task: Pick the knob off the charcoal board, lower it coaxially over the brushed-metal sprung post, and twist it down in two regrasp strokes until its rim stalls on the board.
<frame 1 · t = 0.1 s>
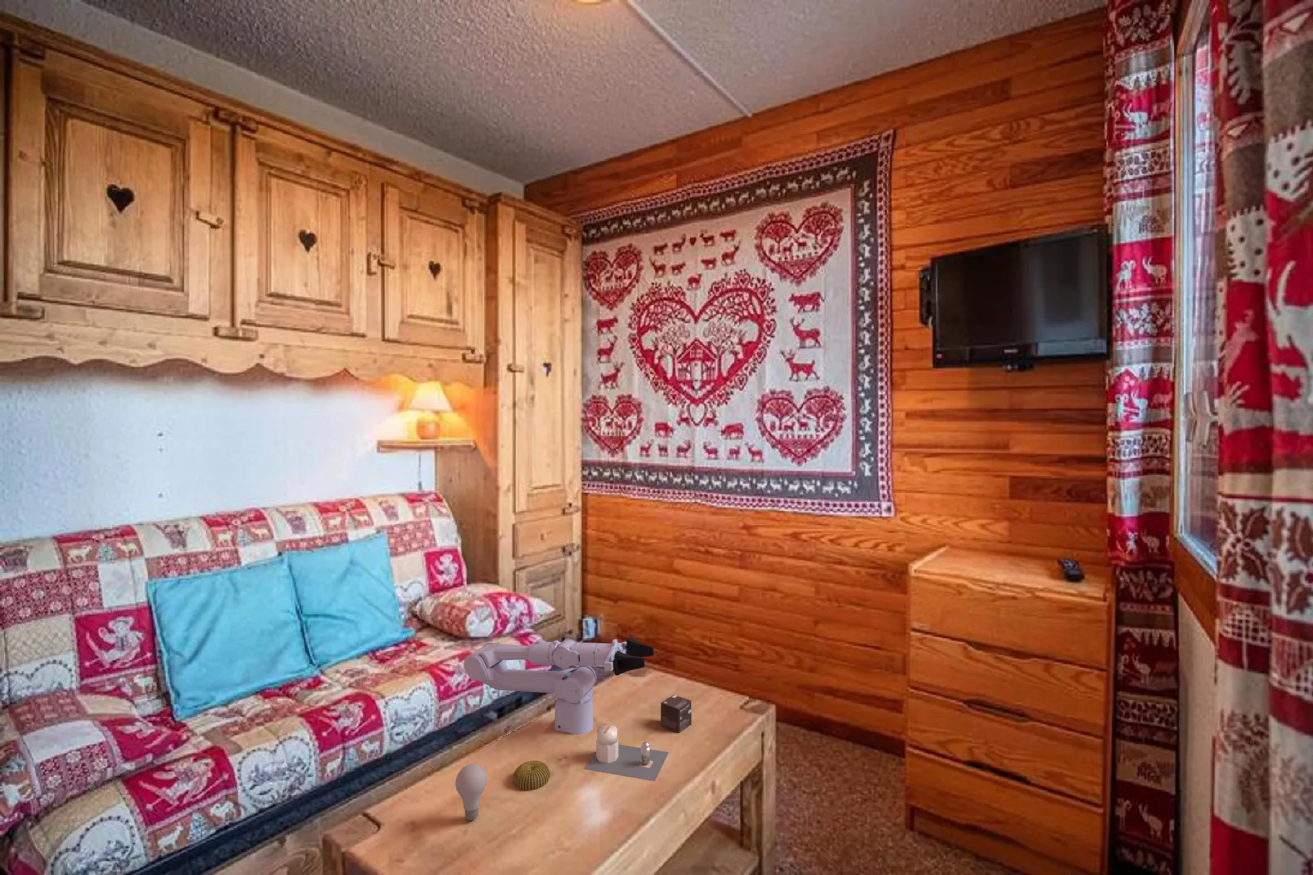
hand: (649, 656, 149), 22 cm above the table, tool horizontal, fingers open, 7 cm apart
board: (627, 764, 140), on the table
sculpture: (531, 785, 133), on the table
knob: (607, 757, 141), point 1 cm above the table, touching board
lightbulb: (471, 820, 121), on the table
post: (645, 751, 139), point 4 cm above the table, slide at 0.0 cm
box: (676, 729, 156), on the table
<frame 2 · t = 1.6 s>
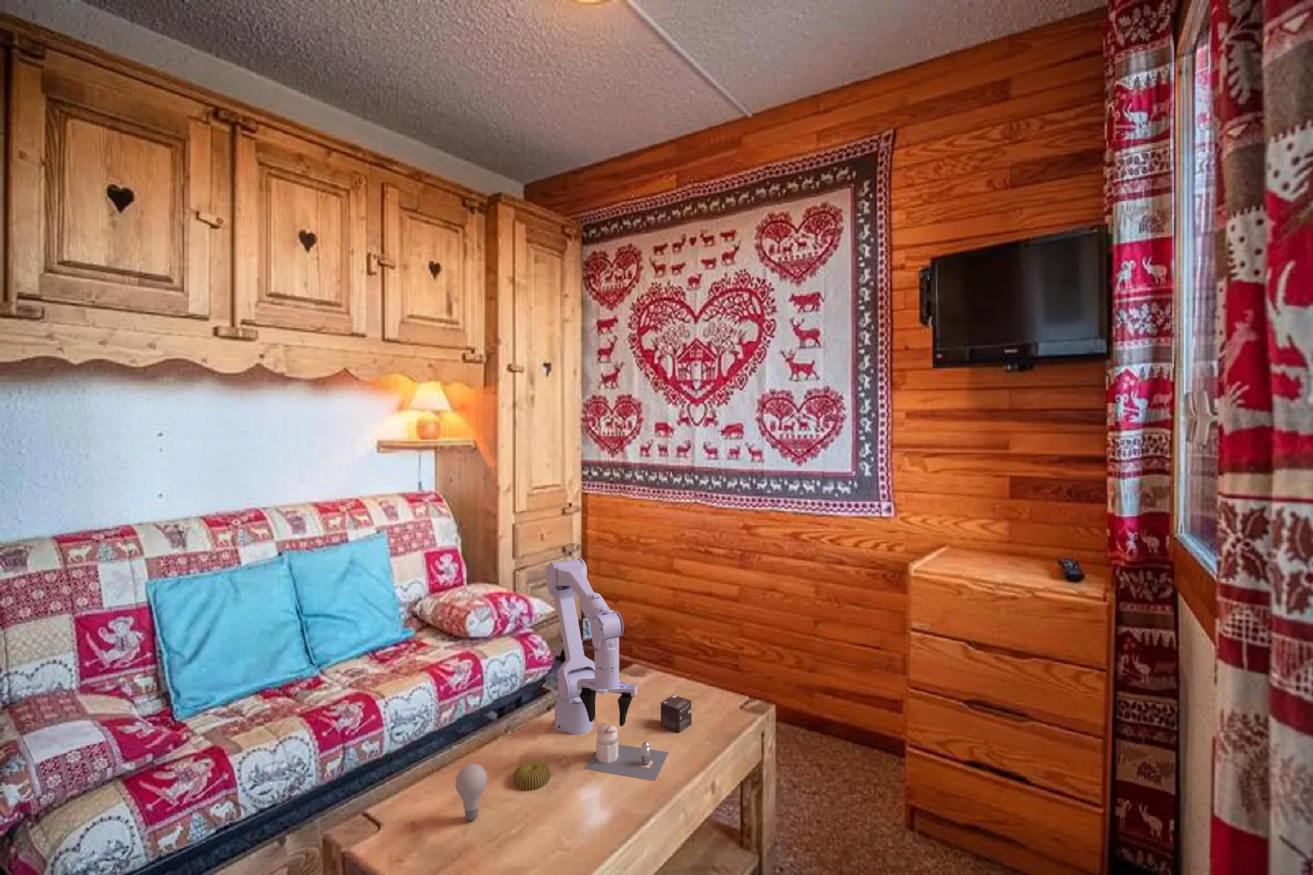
hand: (607, 722, 141), 9 cm above the table, tool pointing down, fingers open, 7 cm apart
nothing on the table moved.
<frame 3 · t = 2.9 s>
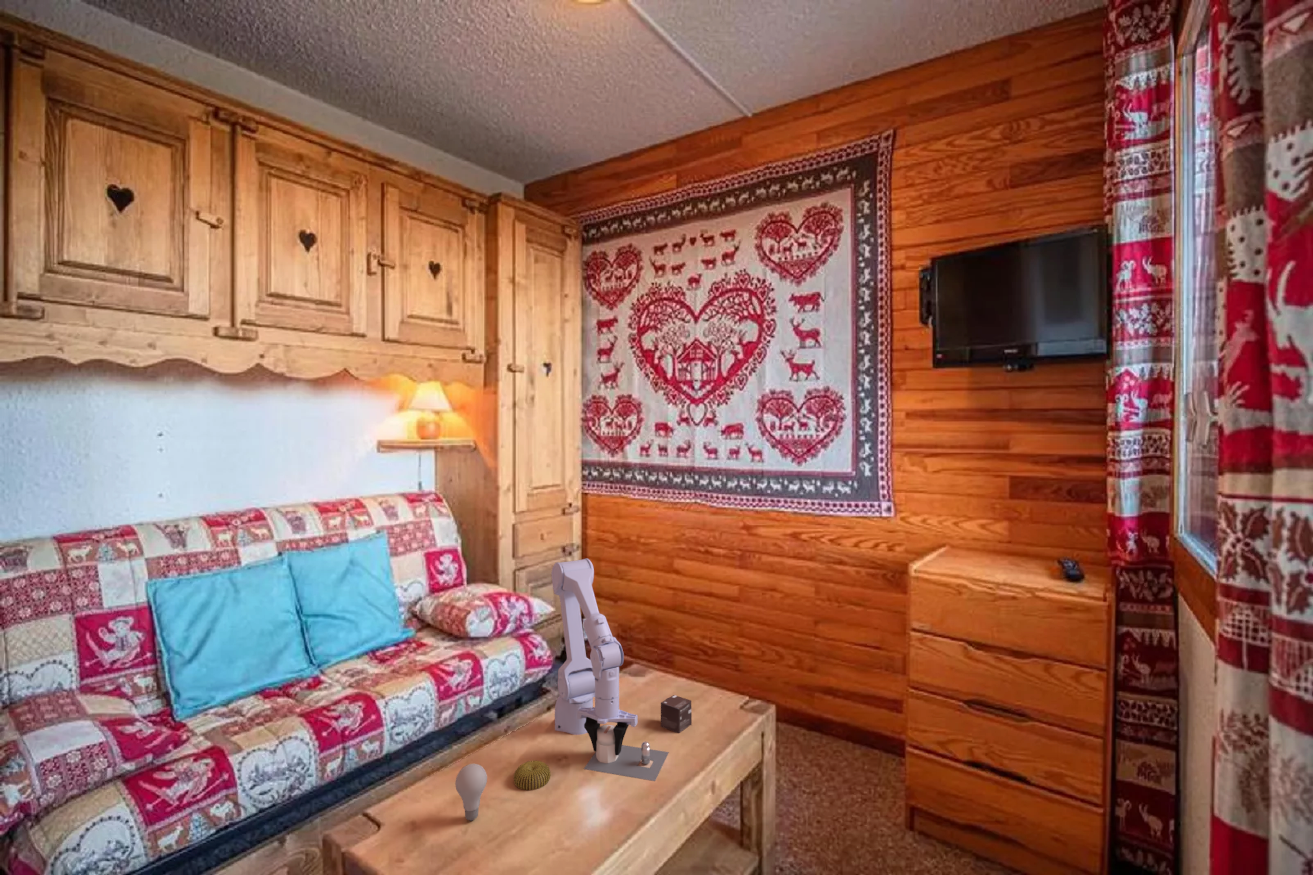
hand: (607, 751, 141), 2 cm above the table, tool pointing down, fingers closed on knob, 5 cm apart
knob: (607, 757, 141), point 1 cm above the table, touching board, gripper
everything else where it was.
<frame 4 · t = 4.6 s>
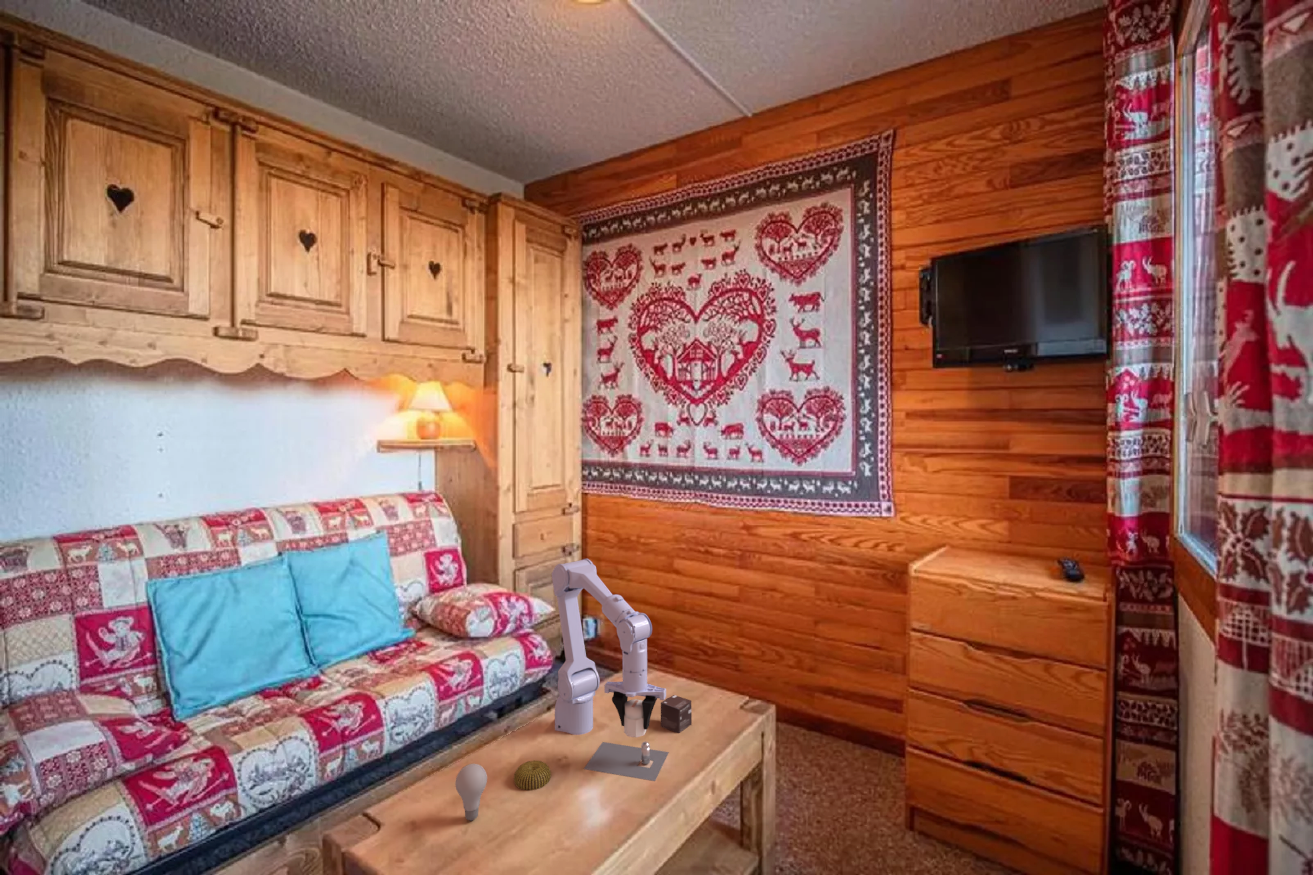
hand: (635, 725, 139), 10 cm above the table, tool pointing down, fingers closed on knob, 5 cm apart
knob: (635, 731, 139), point 8 cm above the table, touching gripper
everything else where it was.
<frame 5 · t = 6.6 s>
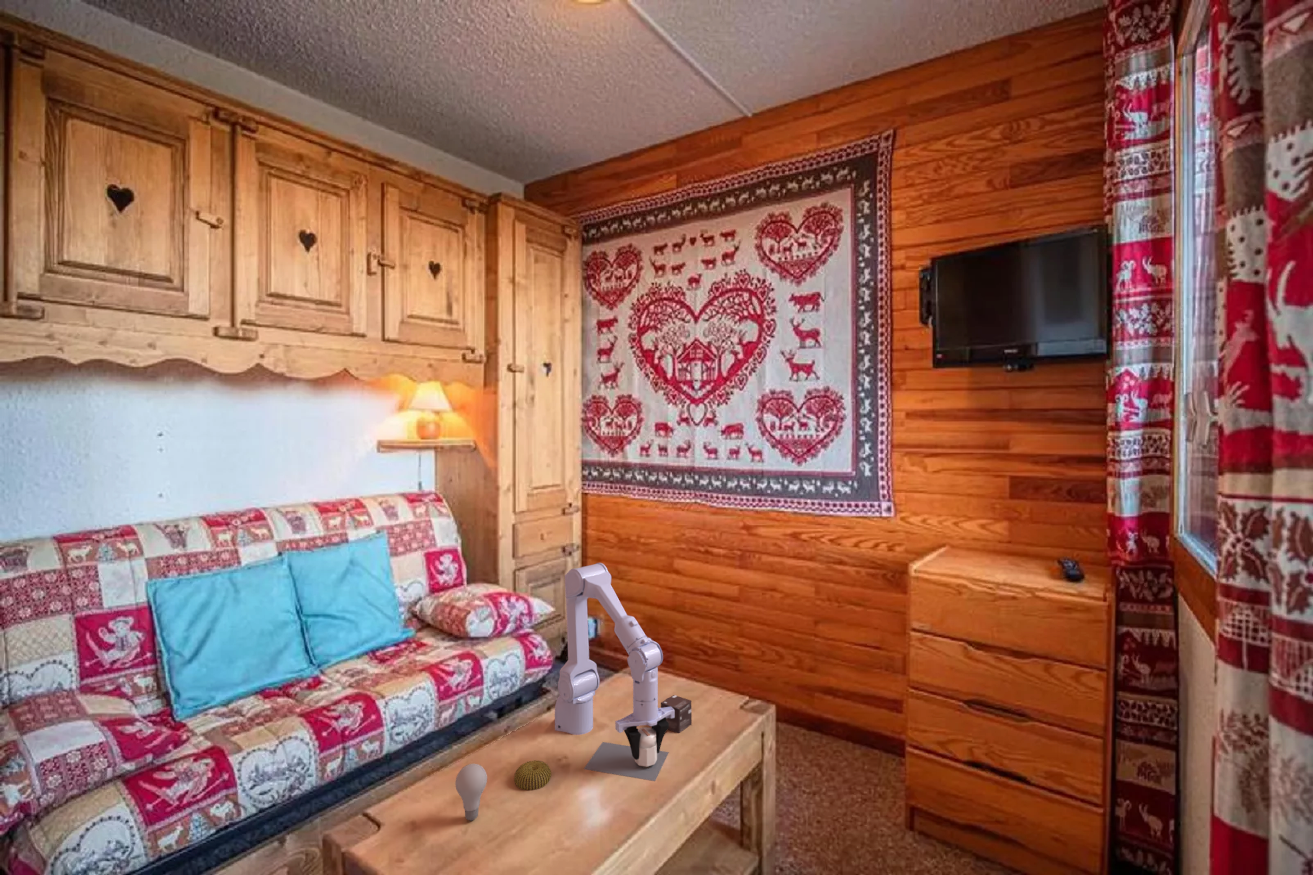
hand: (645, 754, 139), 3 cm above the table, tool pointing down, fingers closed on knob, 5 cm apart
knob: (645, 760, 139), point 2 cm above the table, touching gripper
everything else where it was.
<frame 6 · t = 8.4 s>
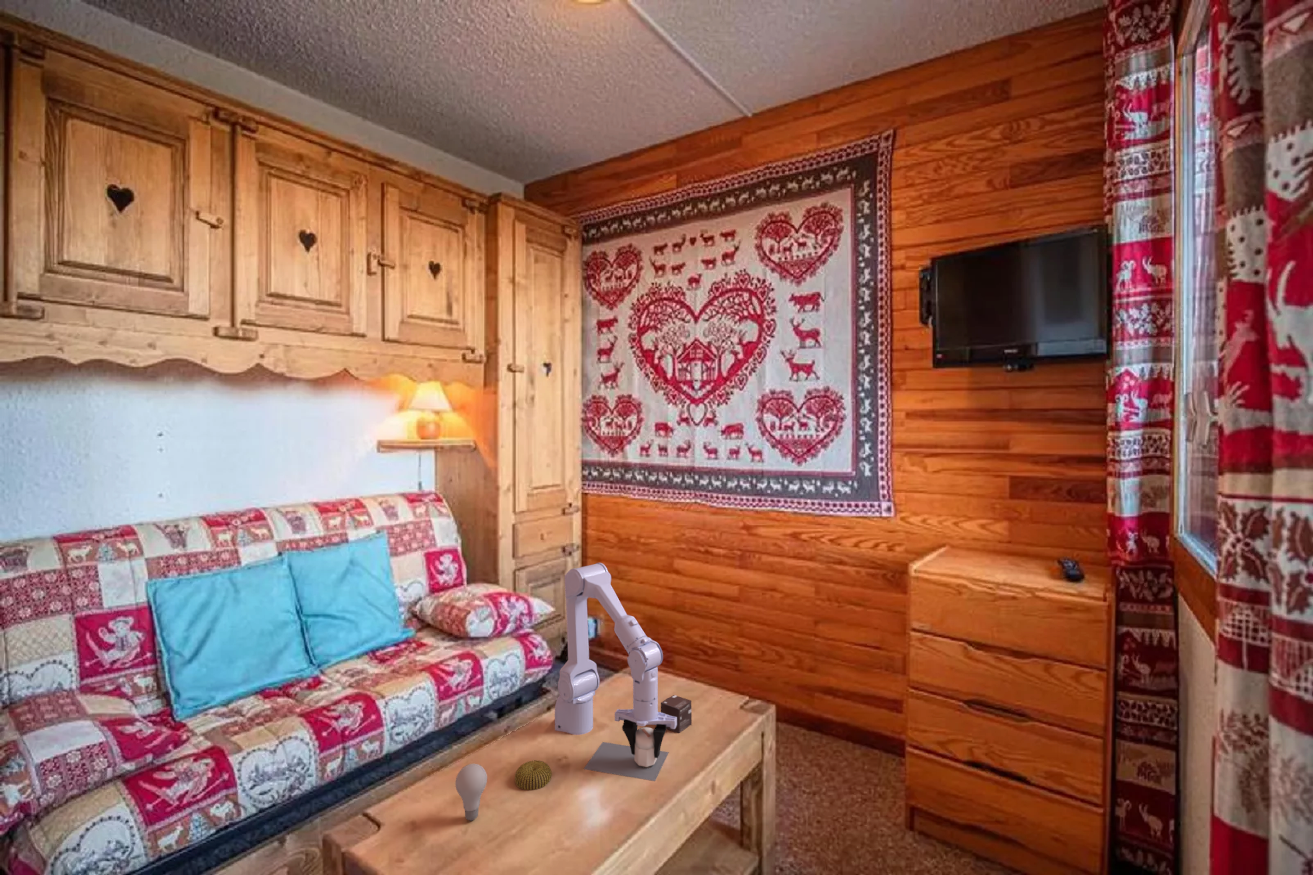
hand: (645, 754, 139), 3 cm above the table, tool pointing down, fingers closed on knob, 5 cm apart
knob: (645, 759, 139), point 2 cm above the table, touching gripper, post
post: (645, 753, 139), point 3 cm above the table, slide at -0.3 cm, touching knob
everything else where it was.
when the fingers open (2 cm above the table, at t = 9.6 s): knob stays where it is, resting on board.
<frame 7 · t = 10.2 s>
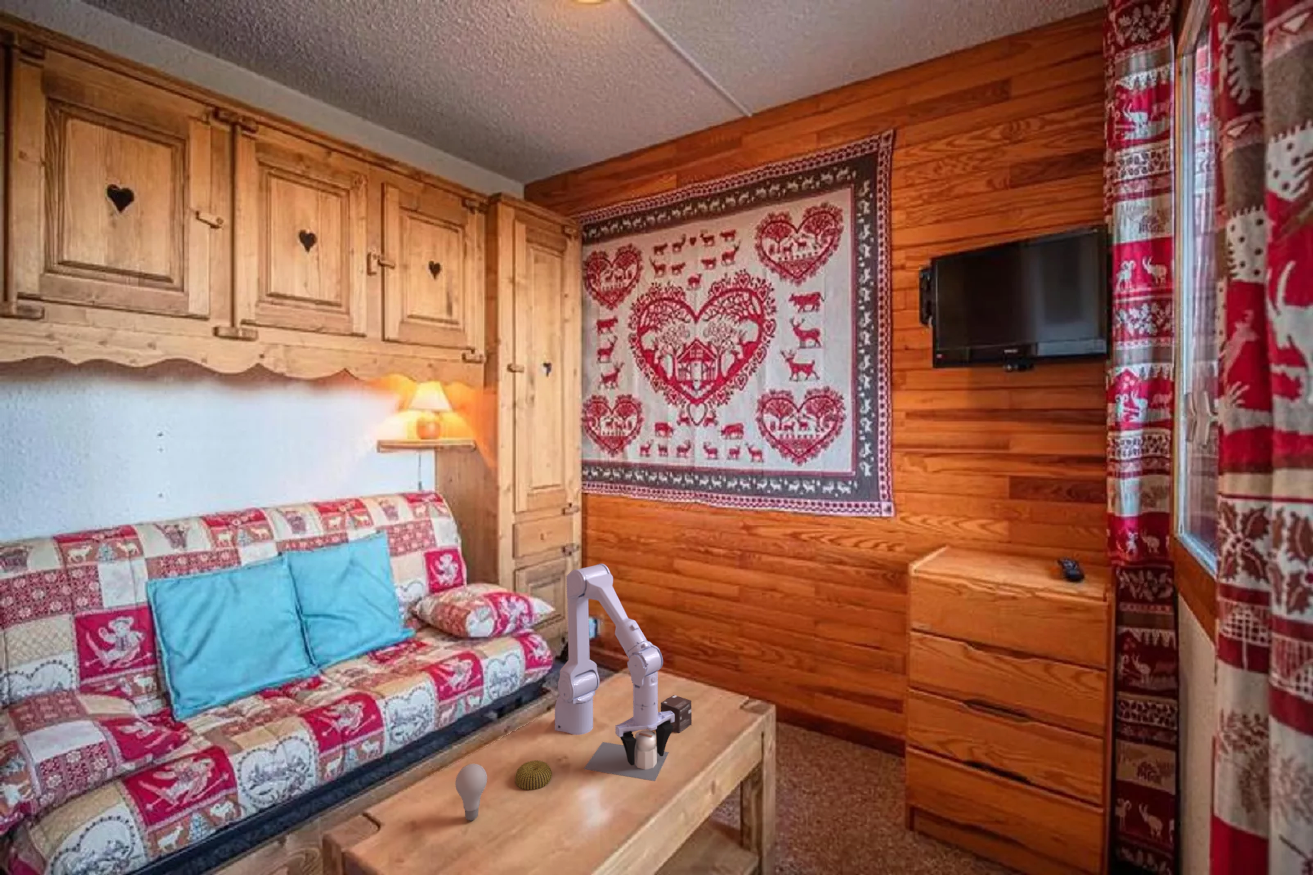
hand: (645, 758, 139), 2 cm above the table, tool pointing down, fingers open, 7 cm apart
knob: (645, 763, 139), point 1 cm above the table, touching board
post: (645, 756, 139), point 3 cm above the table, slide at -1.0 cm
everything else where it was.
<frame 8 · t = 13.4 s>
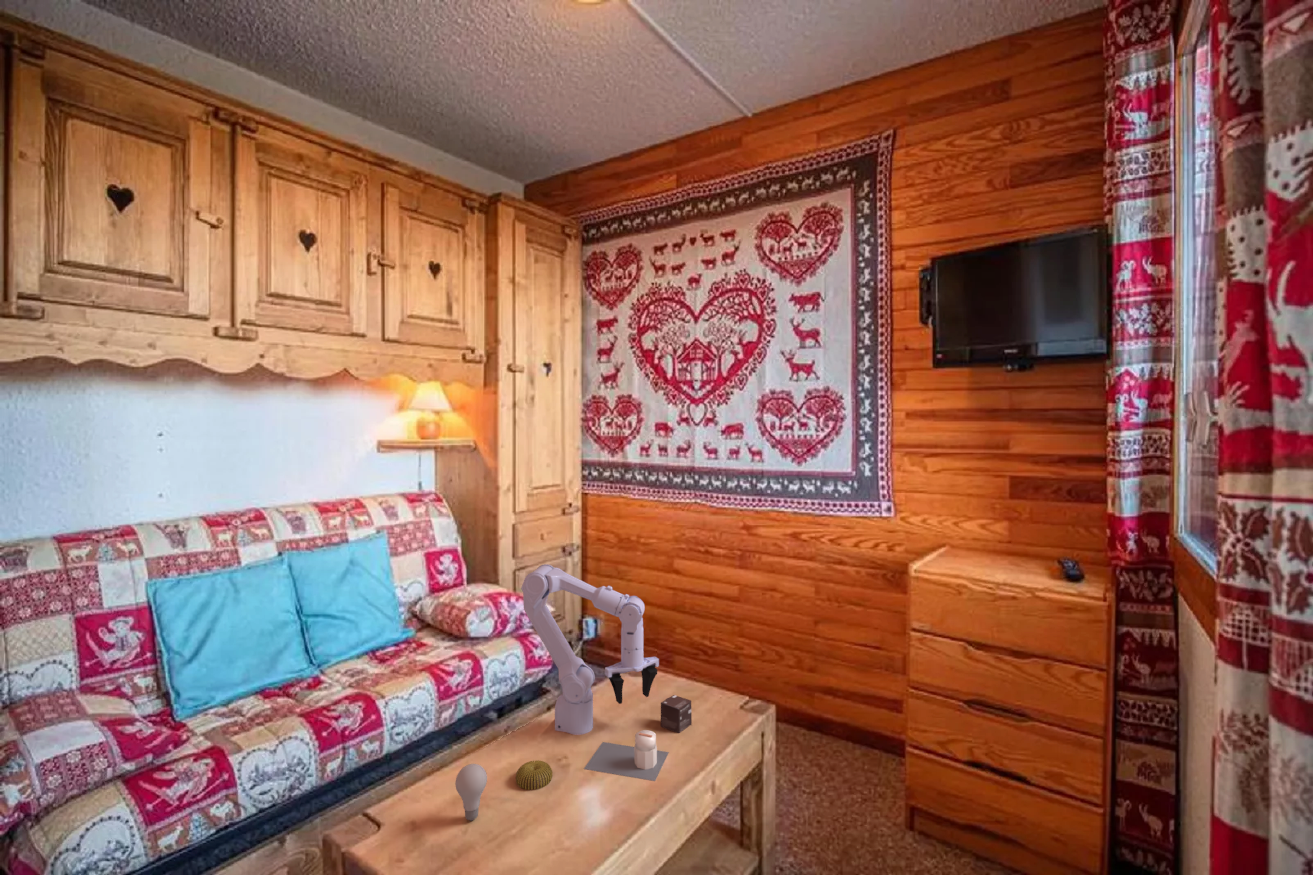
hand: (632, 698, 153), 9 cm above the table, tool pointing down, fingers open, 7 cm apart
nothing on the table moved.
at the end: post slide at -1.0 cm; knob 0.1 cm from the post (horizontally); knob point 1.0 cm above the table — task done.
